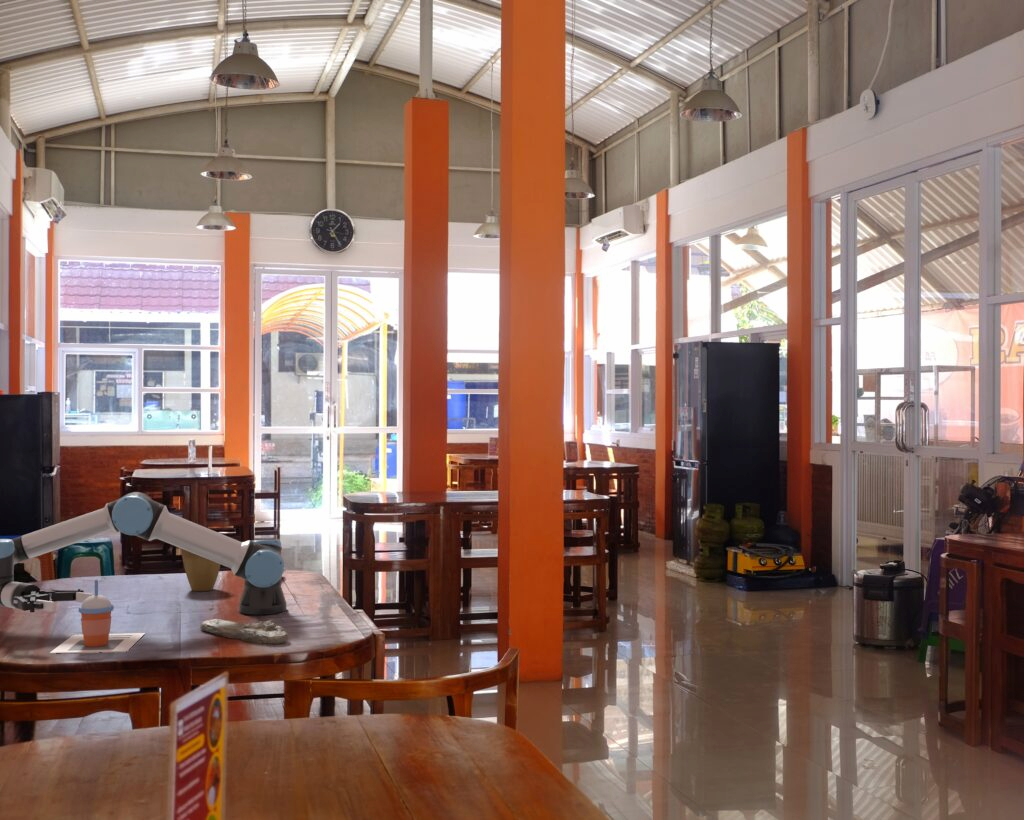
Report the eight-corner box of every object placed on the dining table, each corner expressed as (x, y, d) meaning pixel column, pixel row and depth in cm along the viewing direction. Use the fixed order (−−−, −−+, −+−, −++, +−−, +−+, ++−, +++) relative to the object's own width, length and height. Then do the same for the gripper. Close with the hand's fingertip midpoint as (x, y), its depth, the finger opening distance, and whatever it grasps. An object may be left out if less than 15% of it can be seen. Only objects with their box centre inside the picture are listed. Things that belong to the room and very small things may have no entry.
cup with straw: (101, 649, 284) (101, 583, 284) (71, 647, 286) (71, 581, 286) (120, 641, 293) (120, 577, 293) (91, 640, 295) (91, 576, 295)
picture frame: (145, 634, 305) (145, 632, 305) (126, 651, 283) (126, 650, 283) (73, 635, 302) (73, 634, 302) (49, 653, 280) (49, 652, 280)
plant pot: (232, 588, 380) (232, 544, 380) (200, 594, 367) (201, 549, 367) (203, 584, 388) (203, 541, 388) (171, 590, 375) (171, 546, 375)
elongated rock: (218, 630, 317) (191, 638, 309) (217, 613, 317) (190, 620, 309) (299, 639, 297) (272, 648, 289) (297, 621, 297) (271, 629, 289)
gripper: (58, 601, 314) (108, 608, 305) (-17, 616, 292) (35, 624, 282) (58, 576, 314) (108, 582, 305) (-17, 589, 292) (35, 596, 282)
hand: (73, 602), depth 293 cm, fingers open, 13 cm apart
